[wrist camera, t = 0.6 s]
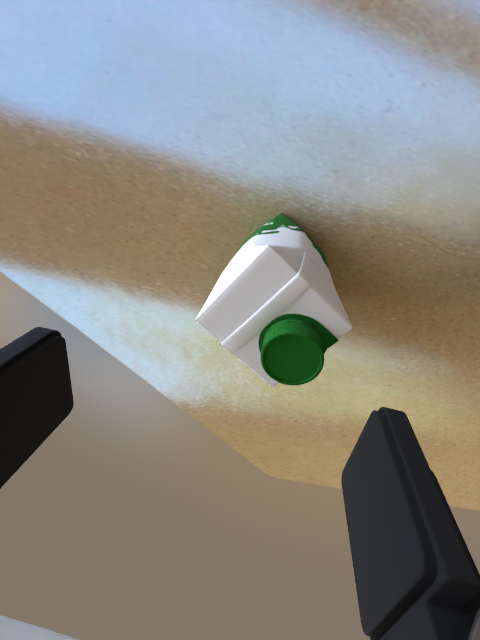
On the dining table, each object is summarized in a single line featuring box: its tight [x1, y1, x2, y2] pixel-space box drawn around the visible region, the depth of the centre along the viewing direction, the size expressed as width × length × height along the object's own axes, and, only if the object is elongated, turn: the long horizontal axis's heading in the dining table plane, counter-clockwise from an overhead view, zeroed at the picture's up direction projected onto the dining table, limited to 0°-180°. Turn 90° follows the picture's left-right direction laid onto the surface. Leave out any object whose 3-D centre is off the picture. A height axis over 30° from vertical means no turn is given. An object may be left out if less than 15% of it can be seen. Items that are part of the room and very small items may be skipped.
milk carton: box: [195, 213, 352, 387], centre depth 28 cm, size 9×9×20 cm
